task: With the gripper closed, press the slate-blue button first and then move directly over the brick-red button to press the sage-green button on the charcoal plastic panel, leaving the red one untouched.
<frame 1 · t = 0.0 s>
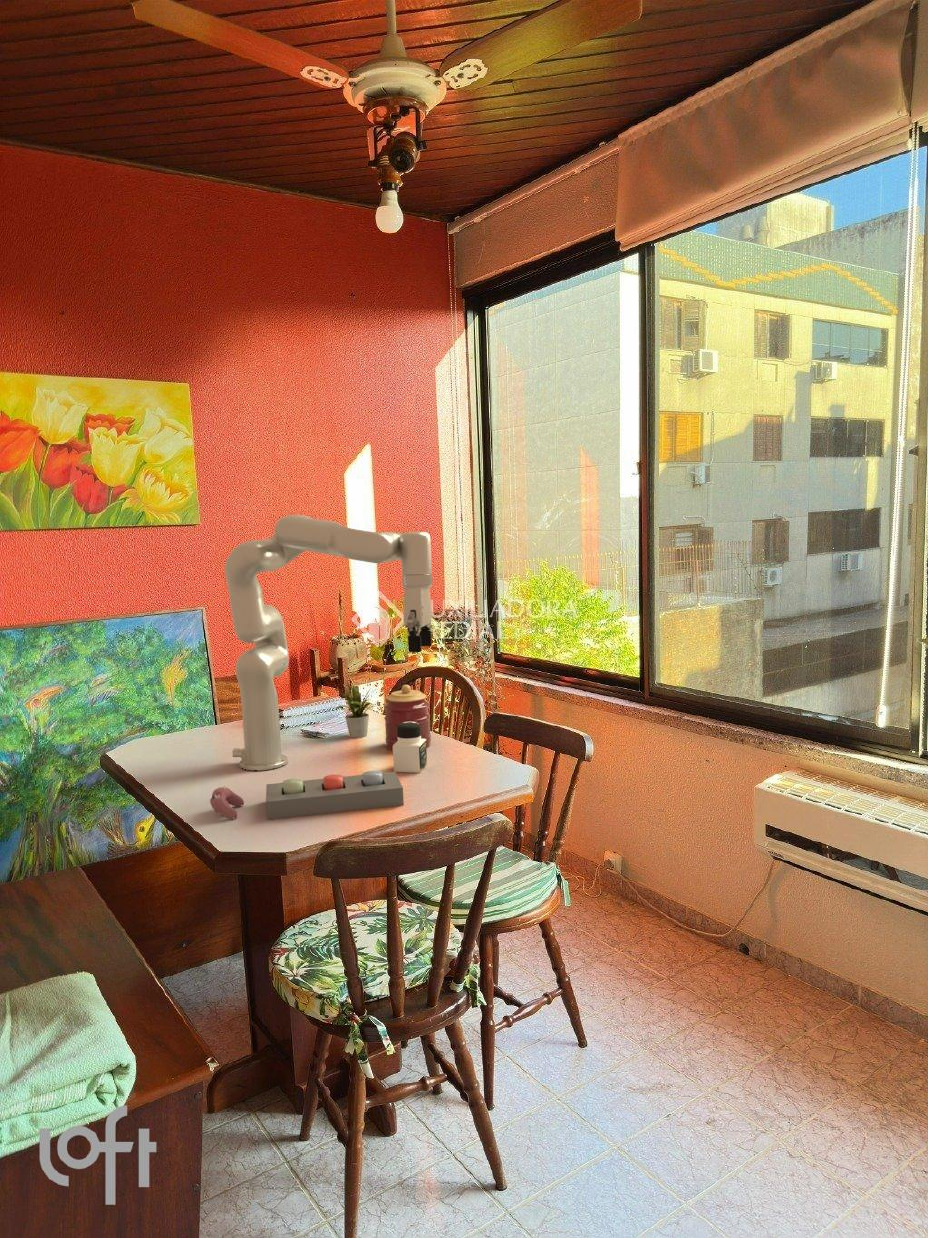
hand: (420, 648, 214), 31 cm above the table, tool pointing down, fingers open, 9 cm apart
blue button: (372, 780, 195), point 4 cm above the table, slide at 0.0 cm
red button: (333, 784, 193), point 4 cm above the table, slide at 0.0 cm
button panel: (334, 802, 194), on the table
canister: (408, 746, 242), on the table
house plant: (354, 736, 256), on the table
medicine bottle: (410, 769, 219), on the table
green button: (293, 788, 192), point 4 cm above the table, slide at 0.0 cm
video game controller: (227, 814, 190), on the table
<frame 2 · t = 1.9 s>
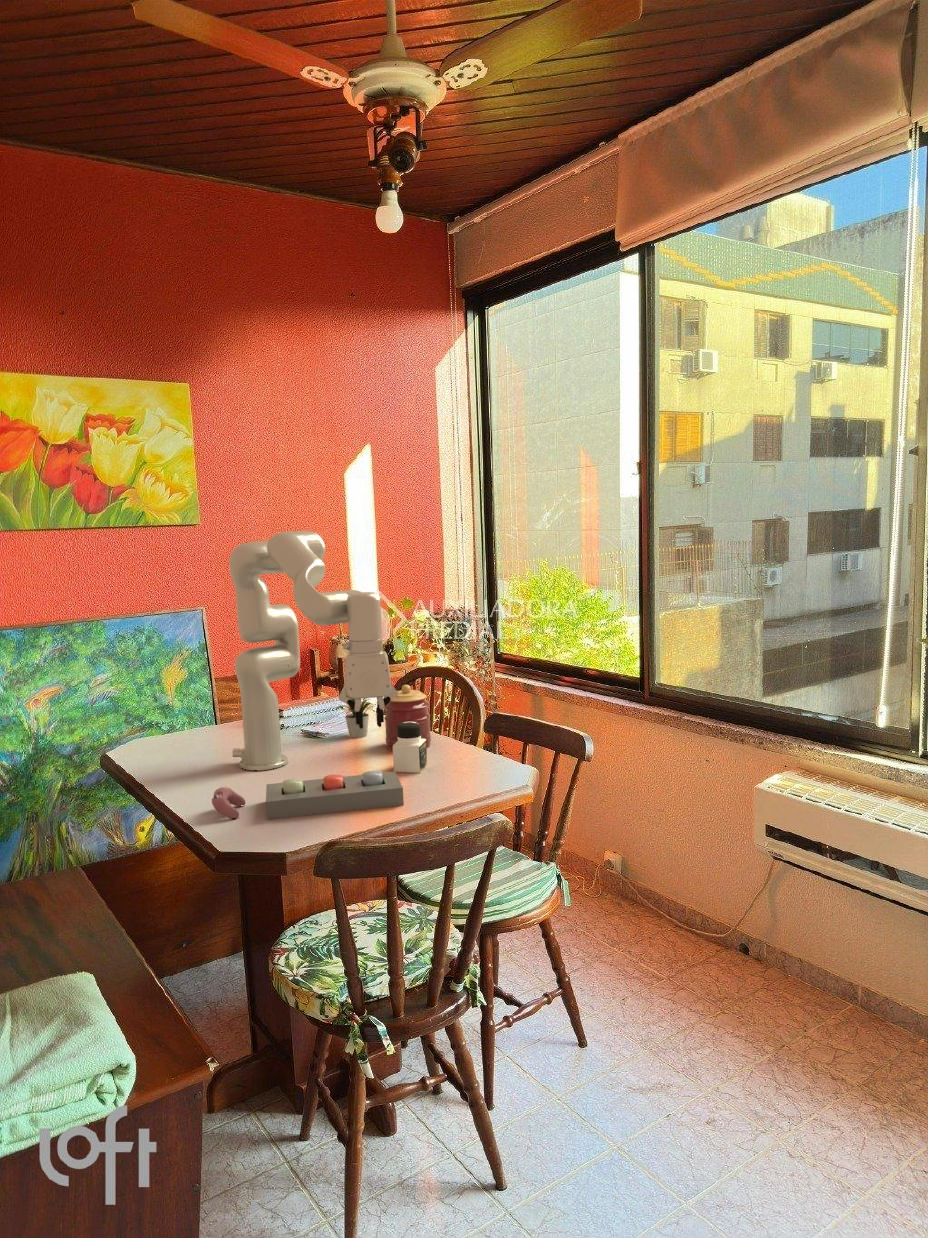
hand: (370, 725, 194), 17 cm above the table, tool pointing down, fingers open, 3 cm apart
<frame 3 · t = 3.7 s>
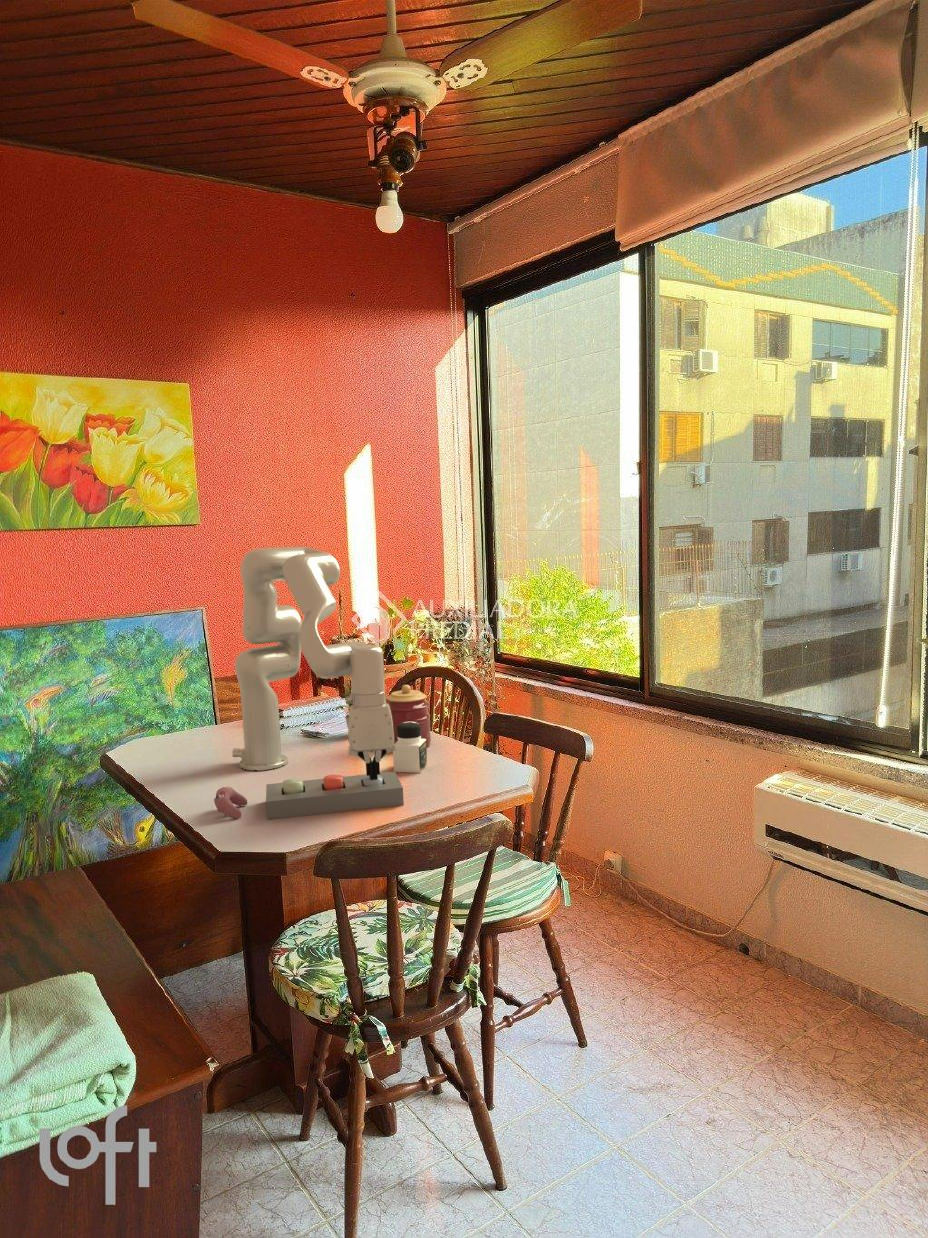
hand: (373, 778, 195), 5 cm above the table, tool pointing down, fingers closed
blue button: (373, 784, 195), point 3 cm above the table, slide at 1.1 cm, touching gripper
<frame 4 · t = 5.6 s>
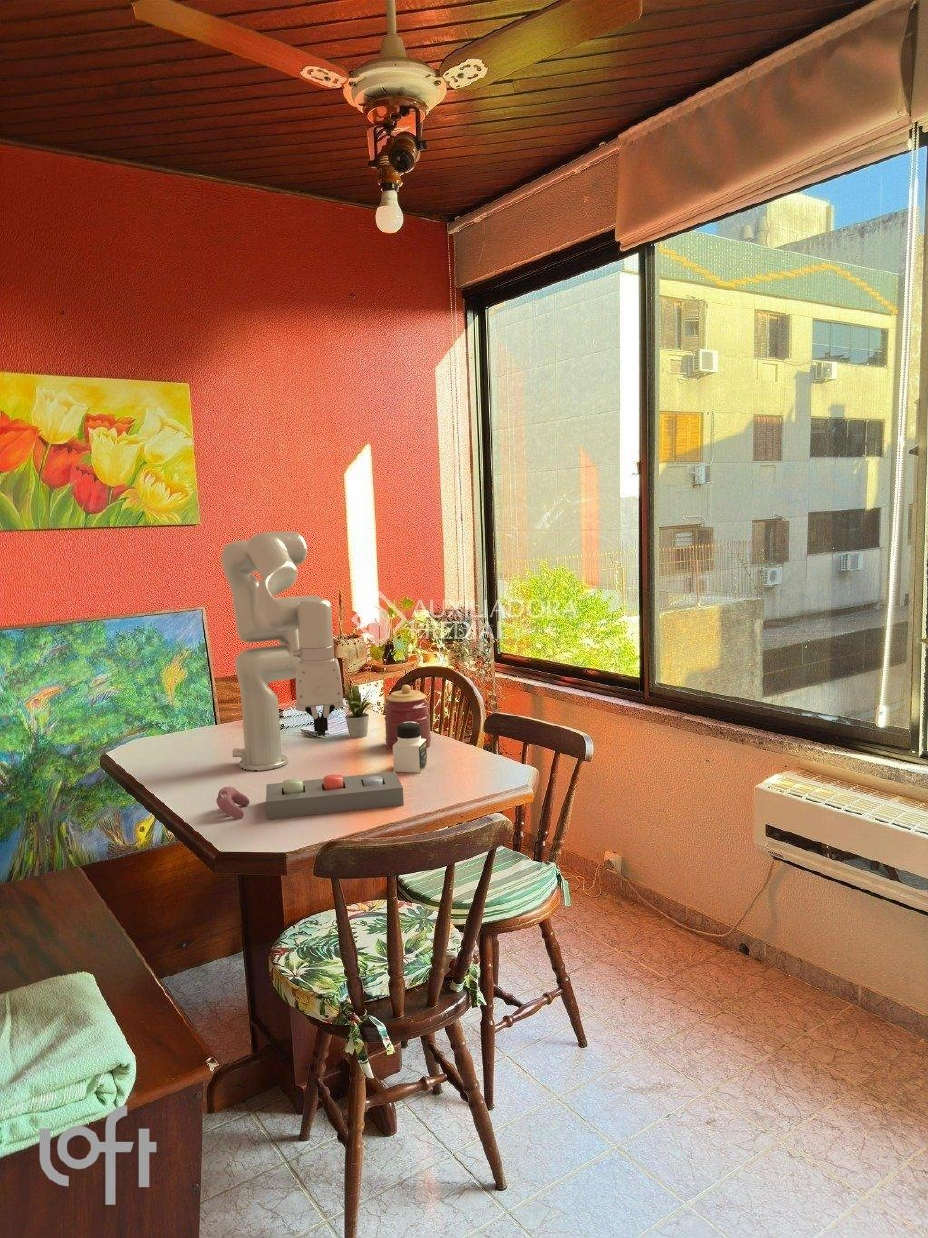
hand: (321, 734, 192), 16 cm above the table, tool pointing down, fingers closed
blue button: (373, 785, 196), point 3 cm above the table, slide at 1.3 cm
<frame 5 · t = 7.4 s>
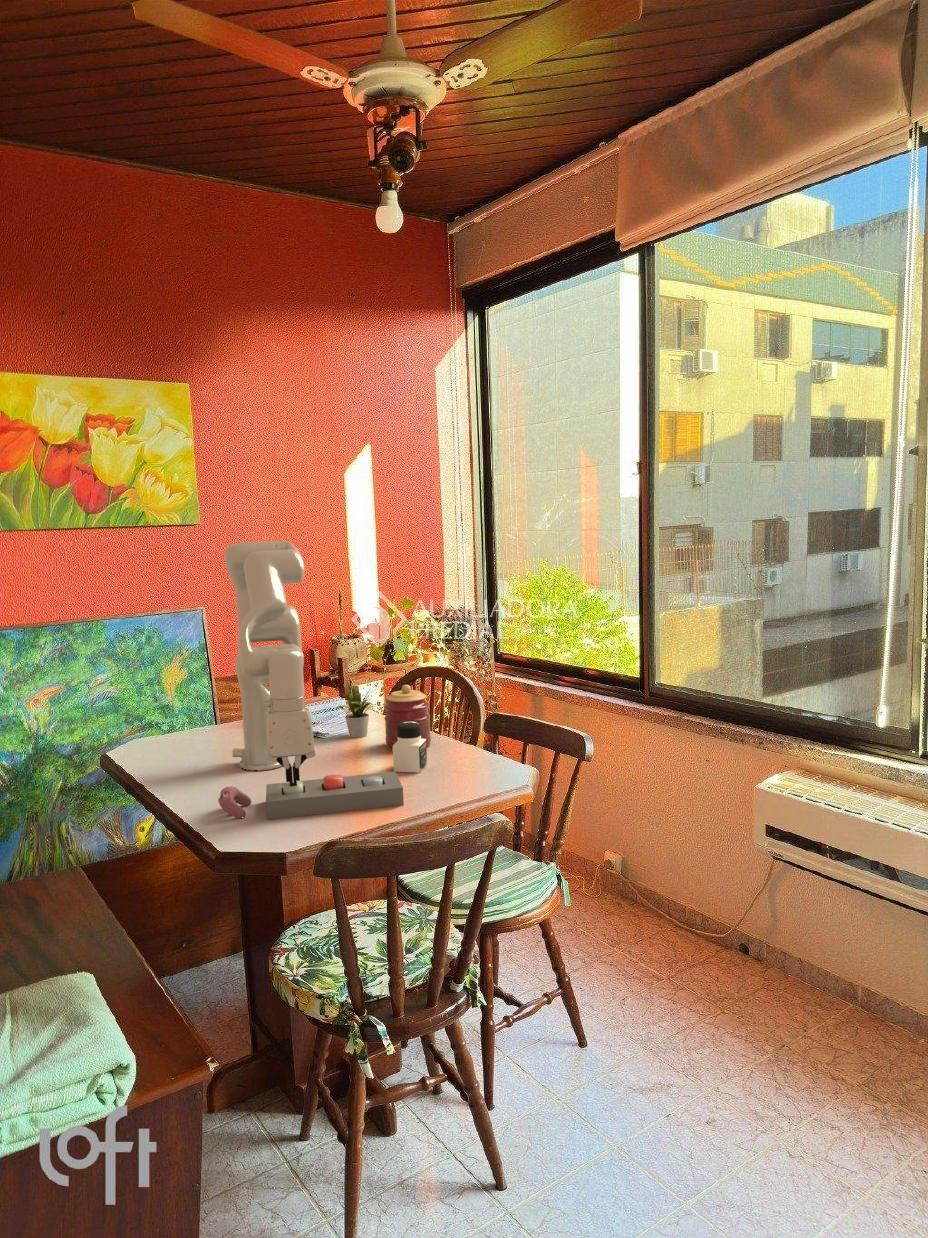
hand: (293, 784, 191), 5 cm above the table, tool pointing down, fingers closed
green button: (293, 791, 192), point 4 cm above the table, slide at 0.6 cm, touching gripper
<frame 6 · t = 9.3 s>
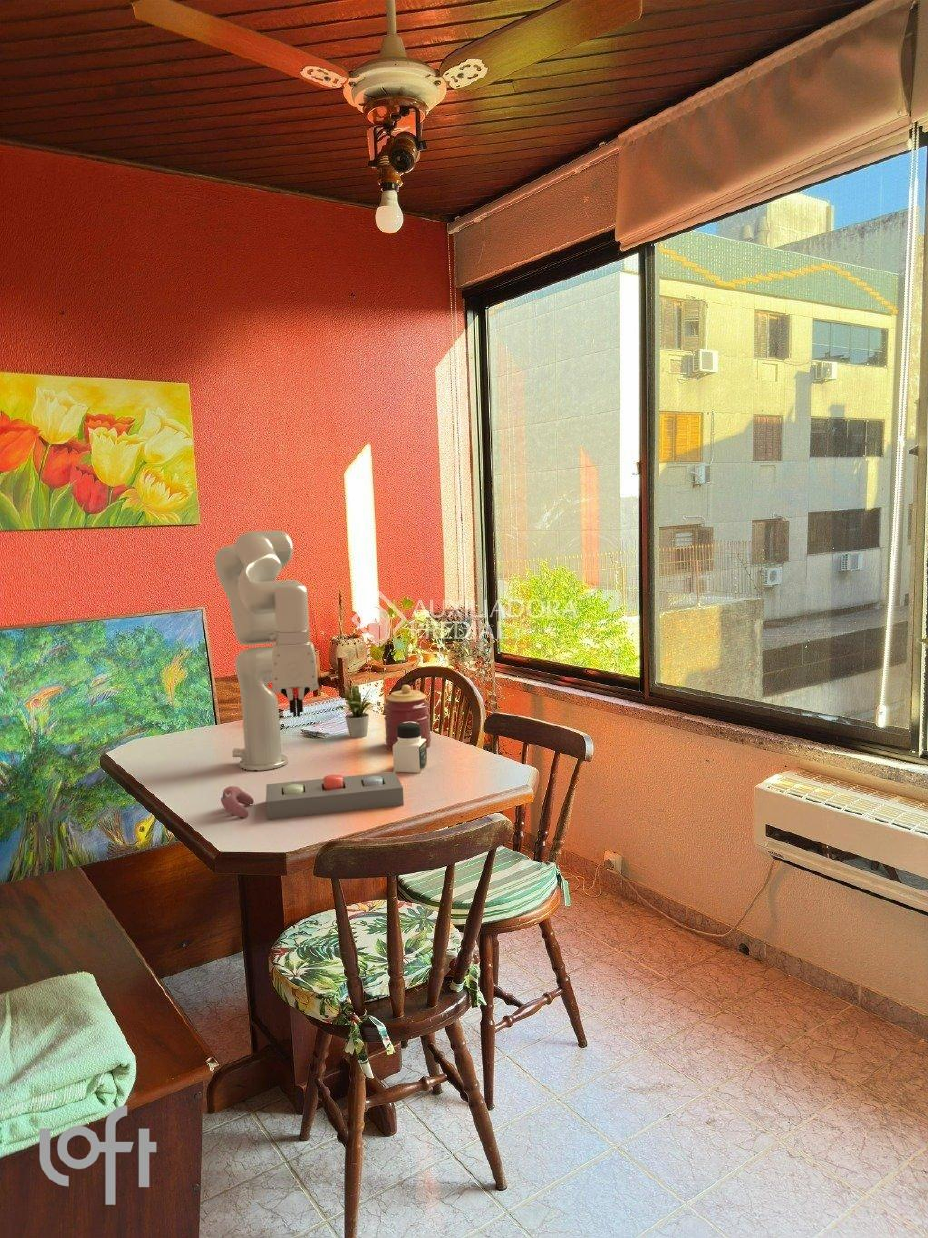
hand: (296, 715, 197), 19 cm above the table, tool pointing down, fingers closed
green button: (293, 794, 192), point 3 cm above the table, slide at 1.3 cm
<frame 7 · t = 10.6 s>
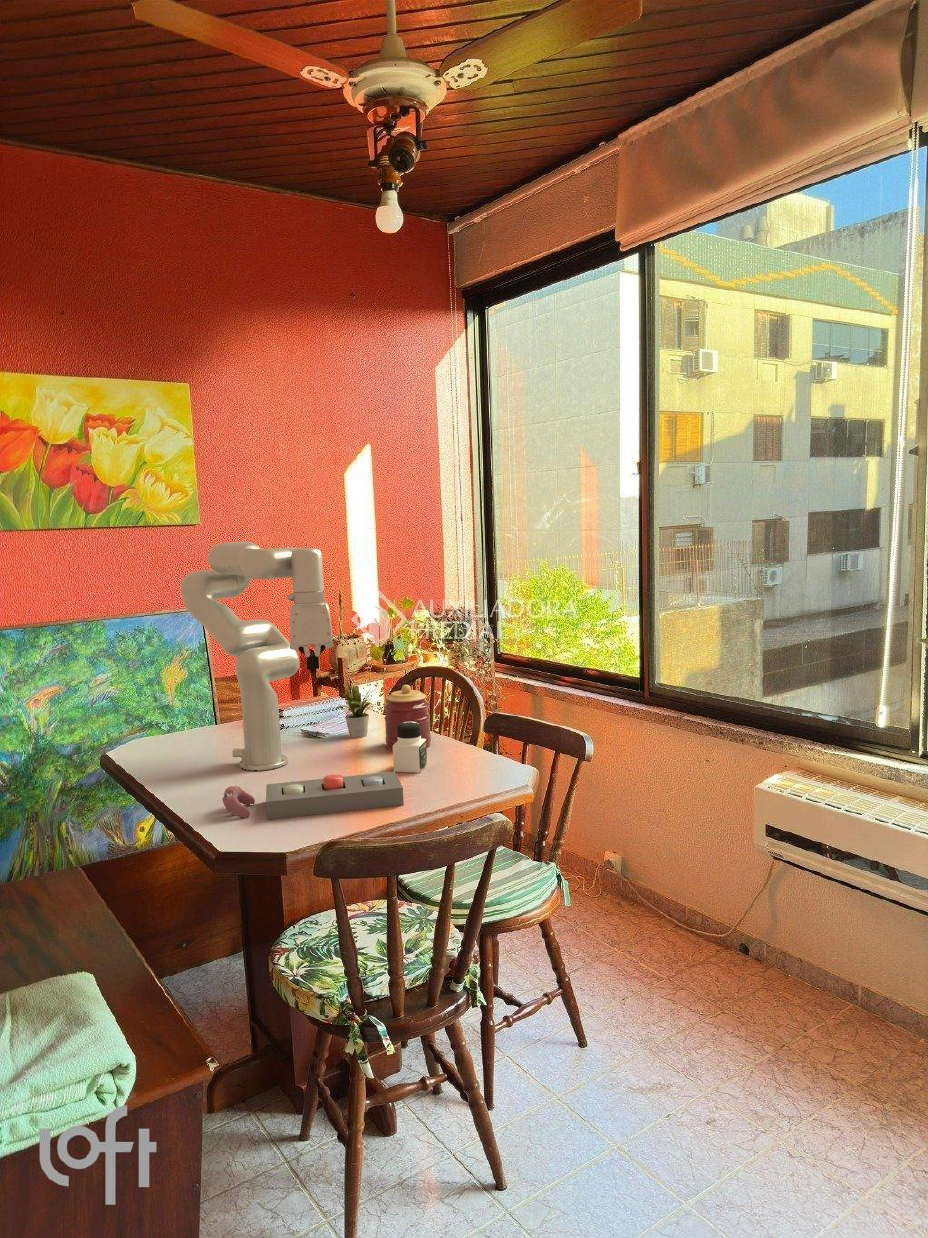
hand: (313, 671, 211), 27 cm above the table, tool pointing down, fingers closed
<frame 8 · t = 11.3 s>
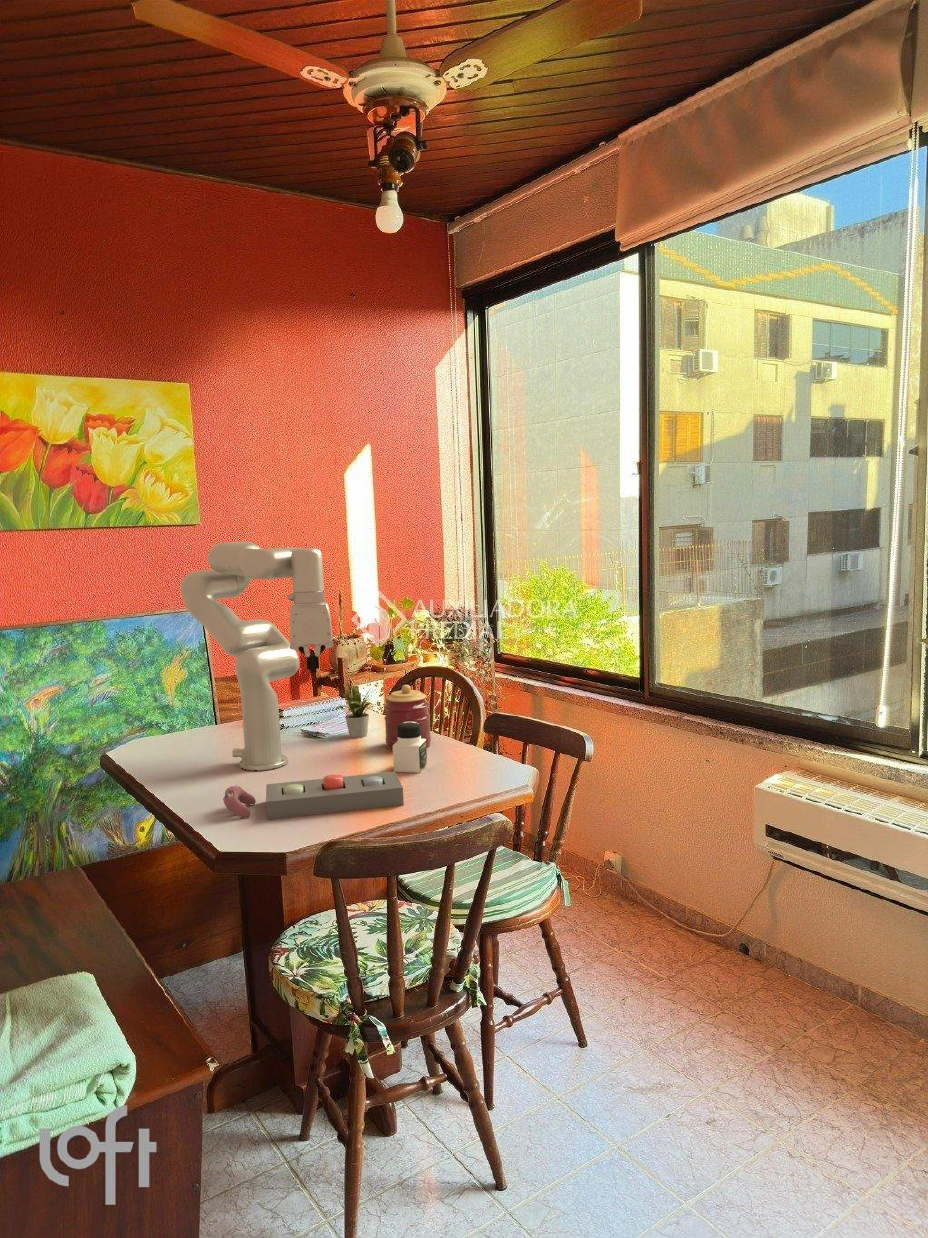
hand: (313, 671, 211), 27 cm above the table, tool pointing down, fingers closed
at the end: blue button slide at 1.3 cm; green button slide at 1.3 cm; red button slide at 0.0 cm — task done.
